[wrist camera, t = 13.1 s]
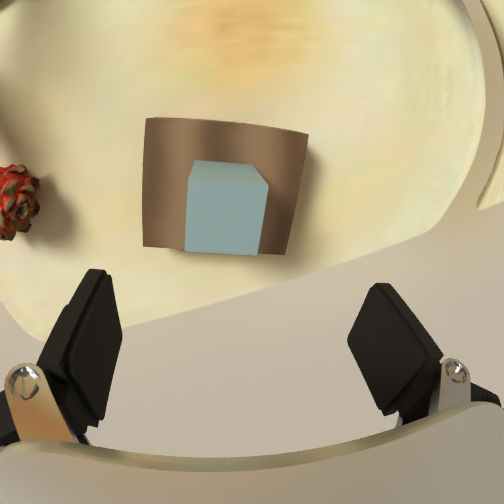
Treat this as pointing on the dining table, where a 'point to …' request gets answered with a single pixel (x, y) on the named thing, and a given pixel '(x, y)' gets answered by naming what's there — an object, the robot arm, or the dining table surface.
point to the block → (224, 208)
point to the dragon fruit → (16, 201)
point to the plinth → (218, 150)
